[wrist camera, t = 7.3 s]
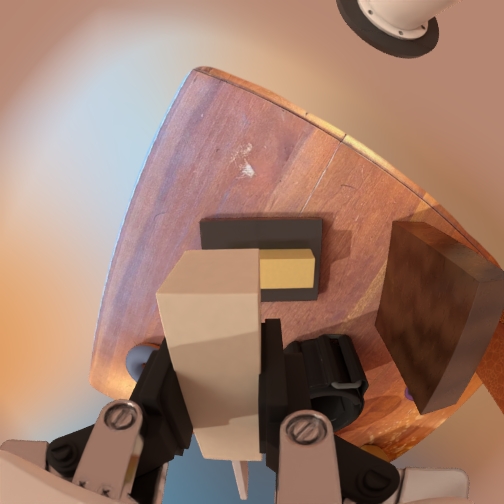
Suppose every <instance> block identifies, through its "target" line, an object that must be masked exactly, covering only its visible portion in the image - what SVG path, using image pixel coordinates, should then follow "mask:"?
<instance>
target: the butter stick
mask: <svg viewBox="0 0 504 504" xmlns="http://www.w3.org/2000/svg"><path fill="white" fill-rule="evenodd" d="M314 267H315V258H314V256H313V253H312V251H311V249H266V250H260V285H261V289H277V288H313V282H314Z"/></svg>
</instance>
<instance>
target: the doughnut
mask: <svg viewBox="0 0 504 504" xmlns="http://www.w3.org/2000/svg"><path fill="white" fill-rule="evenodd" d="M159 348H160V346H157V345H154V344H150V343H142V344H139V345H136V346H135V347H133V348H132V349H131V350H130V351H129V352H128V354H127V356H126V368H127V370H128V373H129V374H130V376H131V377H132V378H133V379H134V380H135V381H136V382H138V379H139V377H140V375H141V373H142V371H143V369H144V367H145V363H146V362H147V360H148V358H149V356H150V354H151V353H152V351H153V350H159Z"/></svg>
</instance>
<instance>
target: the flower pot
mask: <svg viewBox="0 0 504 504" xmlns="http://www.w3.org/2000/svg"><path fill="white" fill-rule="evenodd" d="M361 449H363V450H365V451H367V452H368V453H370V454H373V455H375V456H377V457H379V458H381V459H383V460H385V461H387V462H389V463H390V461H389V459H388V458H387V456H386V454H385V452H384V451H383V450H382V449H380V448H379V447H377V446H375V445H363V446H362V447H361Z"/></svg>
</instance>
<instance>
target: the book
mask: <svg viewBox="0 0 504 504" xmlns="http://www.w3.org/2000/svg"><path fill="white" fill-rule="evenodd" d="M475 372H476V374H477V375H478V376H479V378H480V379H481V381H482V382H483V384H484V385H485V387H486V388H487V389H488V391H489V392H490V394H491V395H492V397H493V398H494V400H495V402H496V403H497V405H498V406H499V408H500V409H501V411H502V412H503V414H504V324H502V323H501V322H498V325H497V327H496V329H495V332H494V334H493V336H492V339H491V341H490V343H489V345H488V347H487V349H486V351H485V354H484V356H483V358H482V360H481V361H480V363H479V365H478V367H477V369H476V371H475Z"/></svg>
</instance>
